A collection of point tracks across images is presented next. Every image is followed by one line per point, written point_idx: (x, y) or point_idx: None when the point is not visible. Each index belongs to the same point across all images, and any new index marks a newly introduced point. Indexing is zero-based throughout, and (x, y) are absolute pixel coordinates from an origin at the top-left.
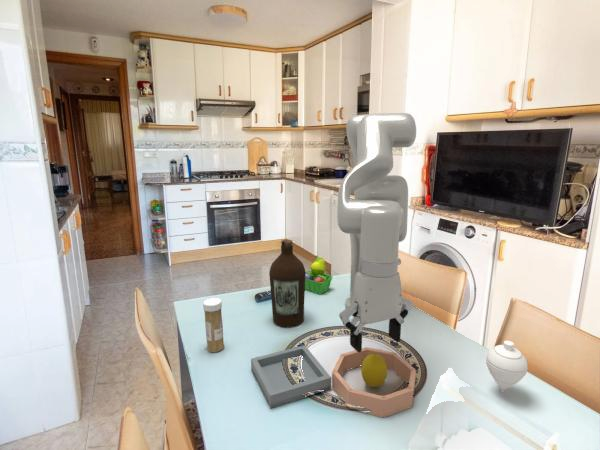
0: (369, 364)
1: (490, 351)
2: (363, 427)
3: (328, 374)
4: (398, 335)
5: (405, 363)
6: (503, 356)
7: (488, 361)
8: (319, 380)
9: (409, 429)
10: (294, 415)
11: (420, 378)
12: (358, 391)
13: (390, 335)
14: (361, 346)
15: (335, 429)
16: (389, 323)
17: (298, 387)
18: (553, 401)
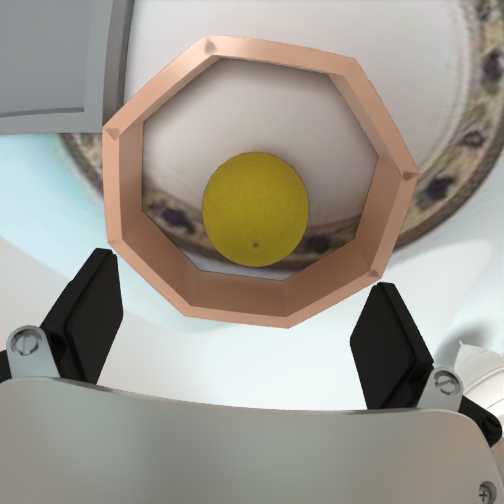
0: (213, 239)
1: (492, 394)
2: (133, 276)
3: (101, 112)
4: (359, 373)
5: (387, 239)
6: None
7: (470, 389)
8: (62, 129)
9: (223, 325)
10: (11, 170)
11: (404, 233)
12: (134, 257)
13: (370, 305)
14: (114, 336)
15: (75, 249)
16: (401, 346)
17: (5, 134)
18: None
